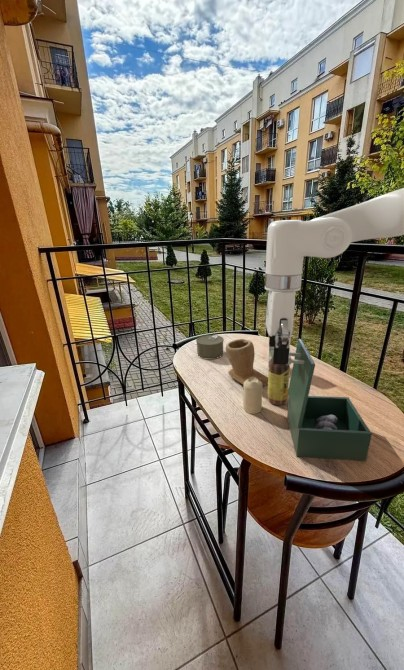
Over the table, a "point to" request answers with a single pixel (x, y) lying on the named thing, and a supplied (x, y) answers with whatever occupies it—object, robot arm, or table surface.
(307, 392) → the lid
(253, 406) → the candle
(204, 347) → the can
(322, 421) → the seashell
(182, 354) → the table surface
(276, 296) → the robot arm
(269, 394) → the sauce bottle
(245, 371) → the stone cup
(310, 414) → the chest
